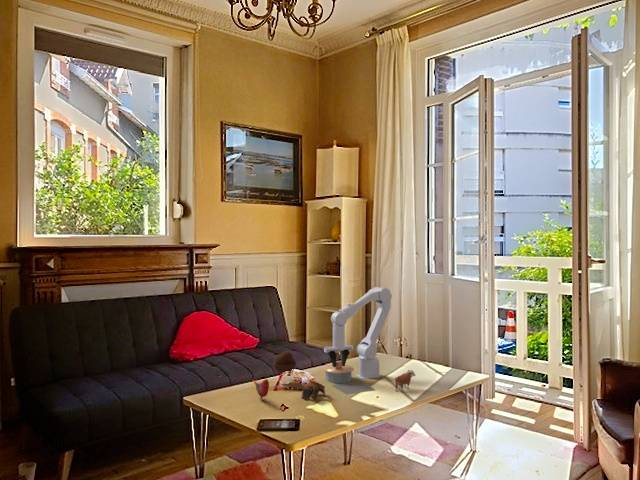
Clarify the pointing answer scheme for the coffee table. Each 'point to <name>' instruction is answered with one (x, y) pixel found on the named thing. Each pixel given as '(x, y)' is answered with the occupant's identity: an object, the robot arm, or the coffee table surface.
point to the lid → (339, 368)
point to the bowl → (338, 377)
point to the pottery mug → (314, 392)
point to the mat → (353, 387)
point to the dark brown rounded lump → (284, 362)
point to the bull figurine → (404, 379)
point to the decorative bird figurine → (262, 388)
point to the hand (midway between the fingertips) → (338, 366)
